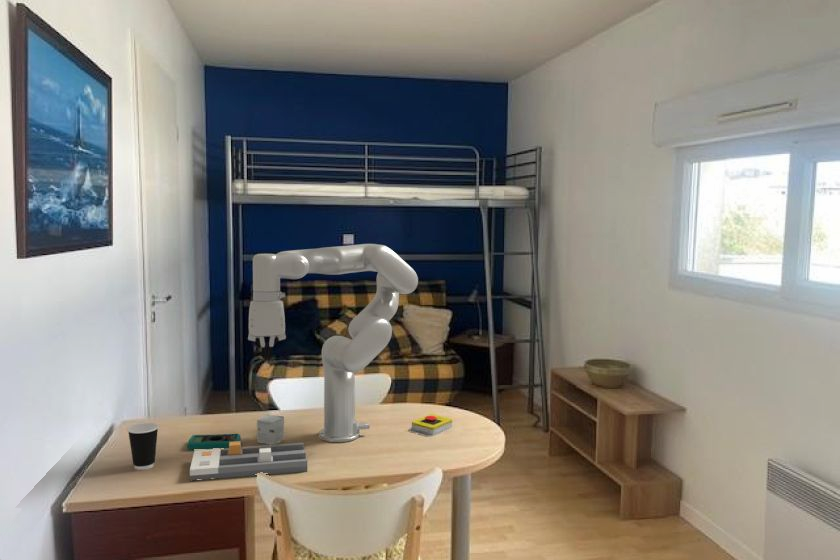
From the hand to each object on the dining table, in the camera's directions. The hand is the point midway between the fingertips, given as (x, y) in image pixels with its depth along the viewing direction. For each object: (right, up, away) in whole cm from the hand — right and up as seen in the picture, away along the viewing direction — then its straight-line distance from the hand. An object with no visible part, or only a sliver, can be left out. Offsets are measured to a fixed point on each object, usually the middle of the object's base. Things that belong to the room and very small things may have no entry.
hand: (267, 359), depth 185 cm
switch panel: (-3, -28, -9) cm, 30 cm away
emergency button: (+48, -26, +25) cm, 60 cm away
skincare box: (-1, -26, +11) cm, 29 cm away
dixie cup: (-31, -28, -10) cm, 43 cm away
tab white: (+2, -27, -12) cm, 29 cm away
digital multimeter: (-17, -27, +6) cm, 33 cm away
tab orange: (-7, -26, -7) cm, 28 cm away
